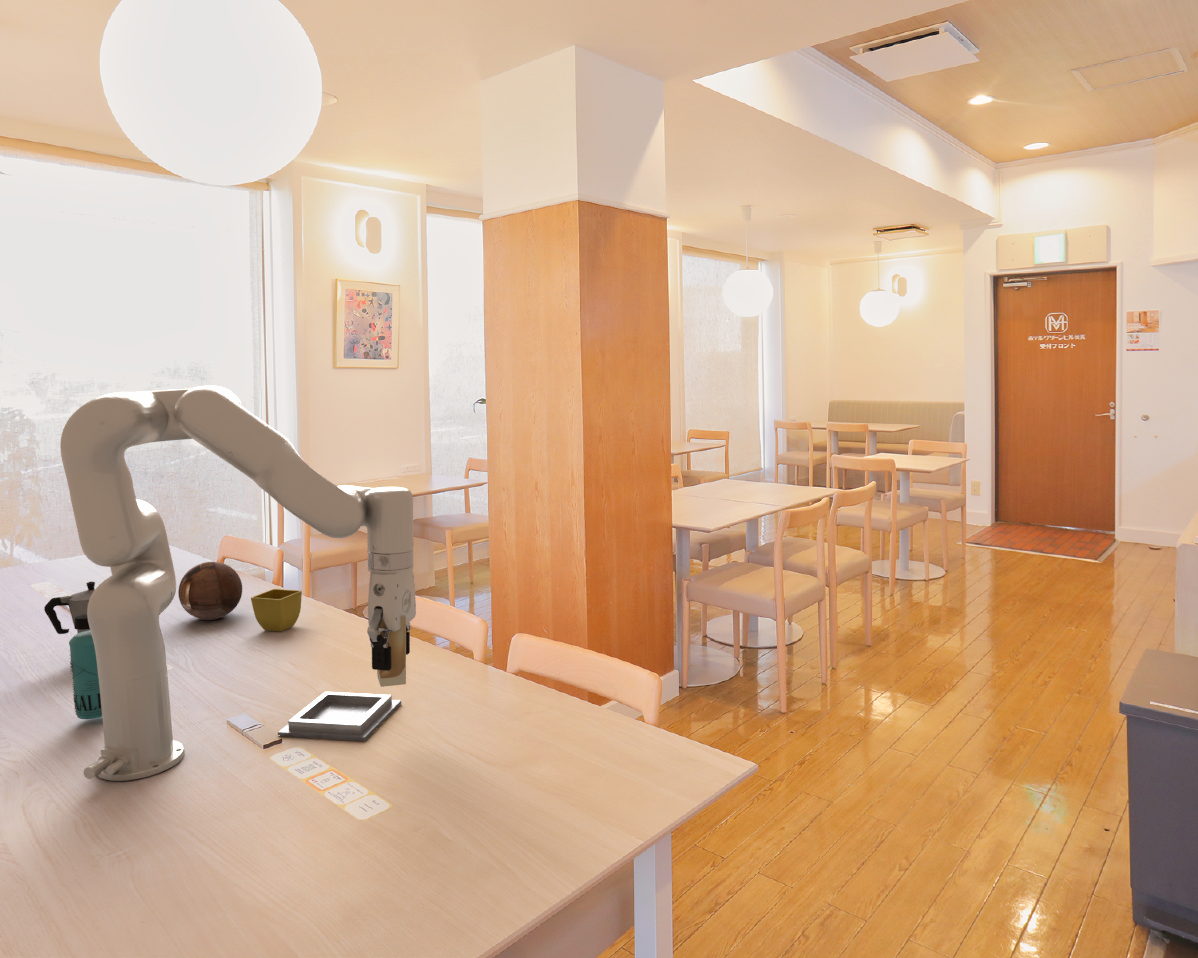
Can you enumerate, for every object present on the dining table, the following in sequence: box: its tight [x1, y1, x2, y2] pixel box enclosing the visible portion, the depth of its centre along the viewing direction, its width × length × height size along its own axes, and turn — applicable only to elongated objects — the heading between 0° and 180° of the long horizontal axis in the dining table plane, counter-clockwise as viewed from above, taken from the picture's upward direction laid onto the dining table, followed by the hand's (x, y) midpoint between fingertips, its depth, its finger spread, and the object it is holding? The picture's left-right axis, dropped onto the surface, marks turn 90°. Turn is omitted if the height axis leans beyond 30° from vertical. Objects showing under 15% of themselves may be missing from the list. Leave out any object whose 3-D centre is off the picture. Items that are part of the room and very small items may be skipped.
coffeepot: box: [43, 581, 96, 635], centre depth 178 cm, size 15×9×18 cm, turn 129°
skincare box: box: [376, 615, 407, 687], centre depth 138 cm, size 6×4×12 cm
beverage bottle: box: [68, 614, 102, 720], centre depth 146 cm, size 6×7×20 cm
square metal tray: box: [277, 691, 402, 743], centre depth 147 cm, size 16×16×2 cm
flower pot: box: [250, 588, 303, 633], centre depth 200 cm, size 9×9×9 cm
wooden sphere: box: [177, 561, 243, 621], centre depth 209 cm, size 15×15×15 cm
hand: (391, 660), depth 138 cm, fingers closed on skincare box, 7 cm apart
